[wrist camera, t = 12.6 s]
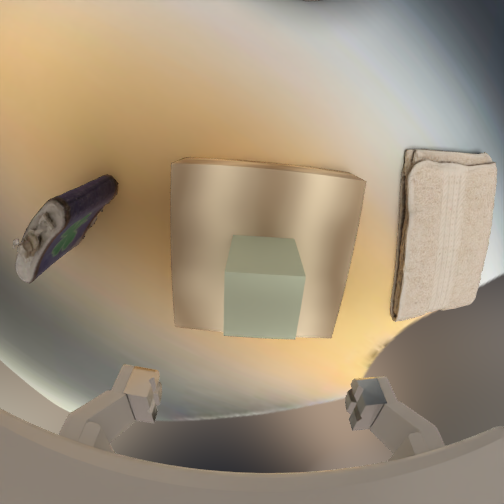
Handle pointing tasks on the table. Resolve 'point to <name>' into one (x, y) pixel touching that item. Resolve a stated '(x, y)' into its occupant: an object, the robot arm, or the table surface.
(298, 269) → the sage block
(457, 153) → the washcloth
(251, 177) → the birch block
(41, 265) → the dark blue flattened pouch
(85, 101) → the table surface
